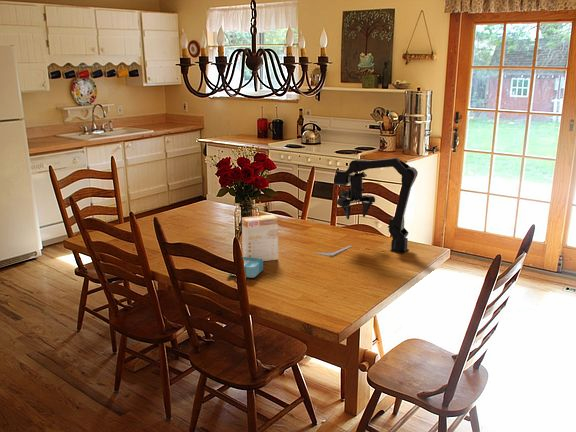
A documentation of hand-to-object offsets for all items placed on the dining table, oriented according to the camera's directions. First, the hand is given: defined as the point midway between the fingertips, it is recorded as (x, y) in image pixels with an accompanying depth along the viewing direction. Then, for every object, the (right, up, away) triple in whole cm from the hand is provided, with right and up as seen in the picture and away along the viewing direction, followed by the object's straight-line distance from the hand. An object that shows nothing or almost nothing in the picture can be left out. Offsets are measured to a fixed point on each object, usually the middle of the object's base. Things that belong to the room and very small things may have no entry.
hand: (355, 218), depth 257 cm
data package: (-44, -21, -35) cm, 60 cm away
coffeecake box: (-45, -19, -16) cm, 52 cm away
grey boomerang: (-14, -15, -2) cm, 20 cm away
